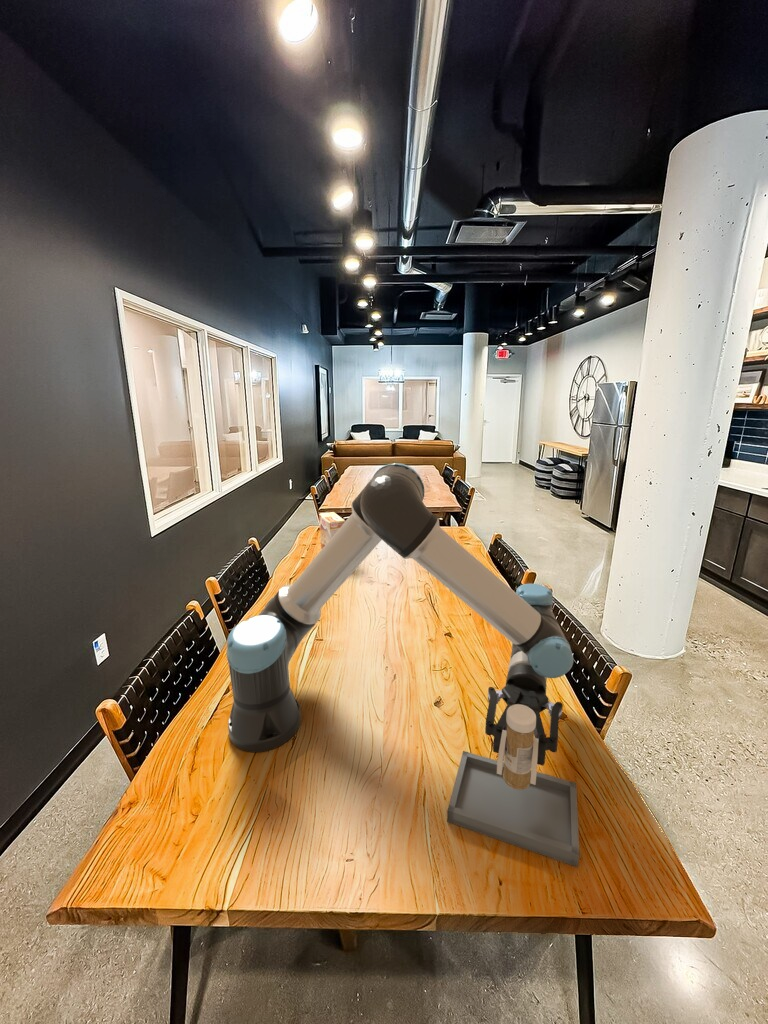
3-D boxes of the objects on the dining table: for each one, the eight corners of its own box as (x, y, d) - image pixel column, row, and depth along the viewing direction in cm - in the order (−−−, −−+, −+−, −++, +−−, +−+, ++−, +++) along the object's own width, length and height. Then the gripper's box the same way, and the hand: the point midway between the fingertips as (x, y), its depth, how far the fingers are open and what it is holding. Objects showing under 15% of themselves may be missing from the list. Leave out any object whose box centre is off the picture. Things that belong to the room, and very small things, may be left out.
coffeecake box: (320, 555, 190) (318, 513, 185) (336, 553, 193) (334, 511, 187) (331, 567, 177) (329, 522, 171) (347, 564, 180) (345, 520, 174)
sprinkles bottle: (498, 769, 74) (502, 704, 70) (524, 766, 74) (529, 701, 71) (508, 793, 70) (513, 724, 66) (535, 790, 70) (541, 721, 66)
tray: (447, 821, 71) (447, 810, 71) (462, 761, 83) (463, 750, 82) (577, 867, 64) (579, 854, 64) (574, 794, 76) (576, 783, 75)
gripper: (571, 705, 84) (575, 809, 63) (482, 685, 90) (459, 774, 69) (575, 672, 82) (580, 769, 61) (483, 654, 88) (460, 736, 67)
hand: (516, 771), depth 65 cm, fingers closed on sprinkles bottle, 4 cm apart
